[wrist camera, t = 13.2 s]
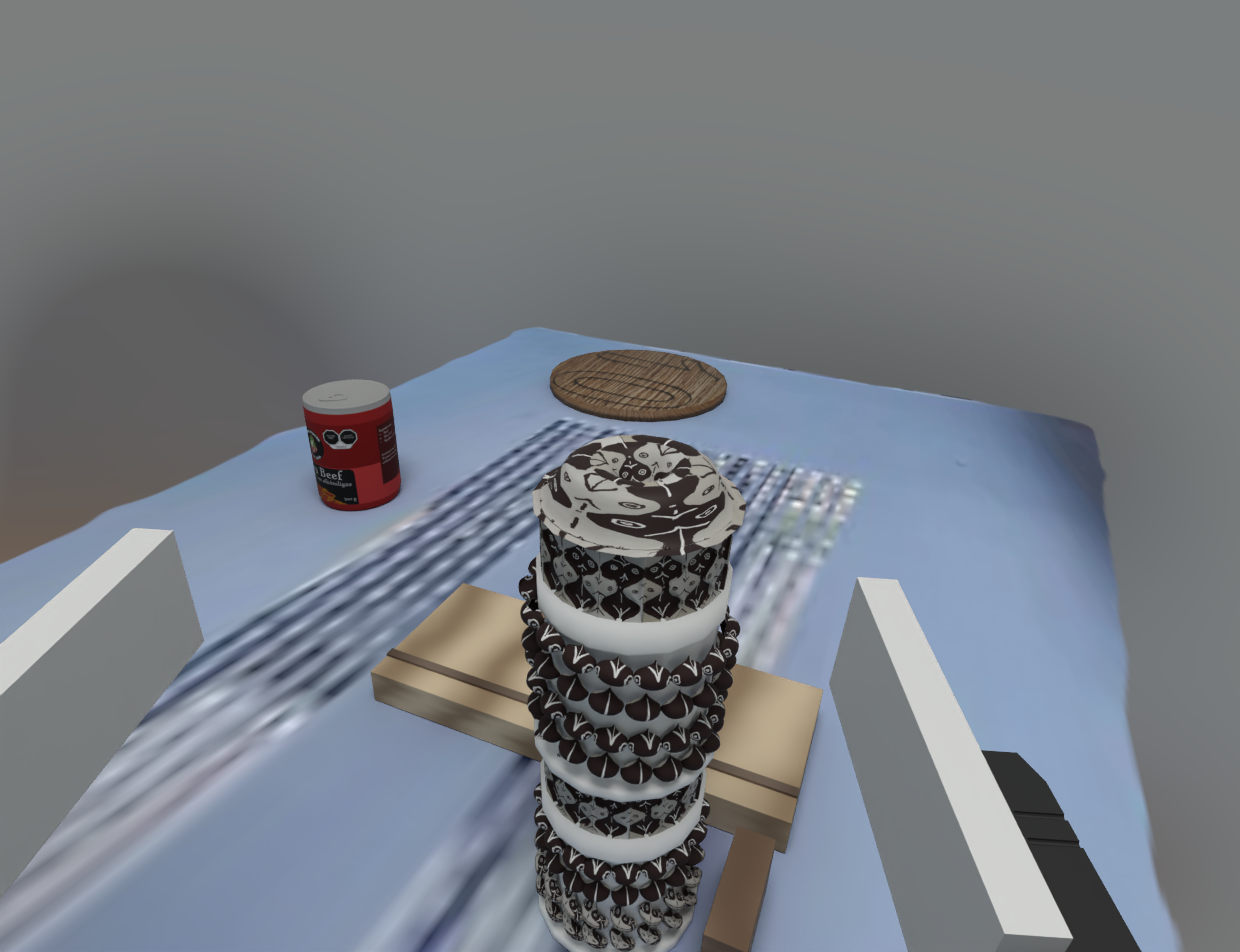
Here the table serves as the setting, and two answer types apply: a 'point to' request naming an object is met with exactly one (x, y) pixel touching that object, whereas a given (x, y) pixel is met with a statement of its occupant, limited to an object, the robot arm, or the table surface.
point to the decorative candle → (627, 685)
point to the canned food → (353, 443)
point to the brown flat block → (739, 894)
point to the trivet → (638, 385)
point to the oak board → (497, 670)
